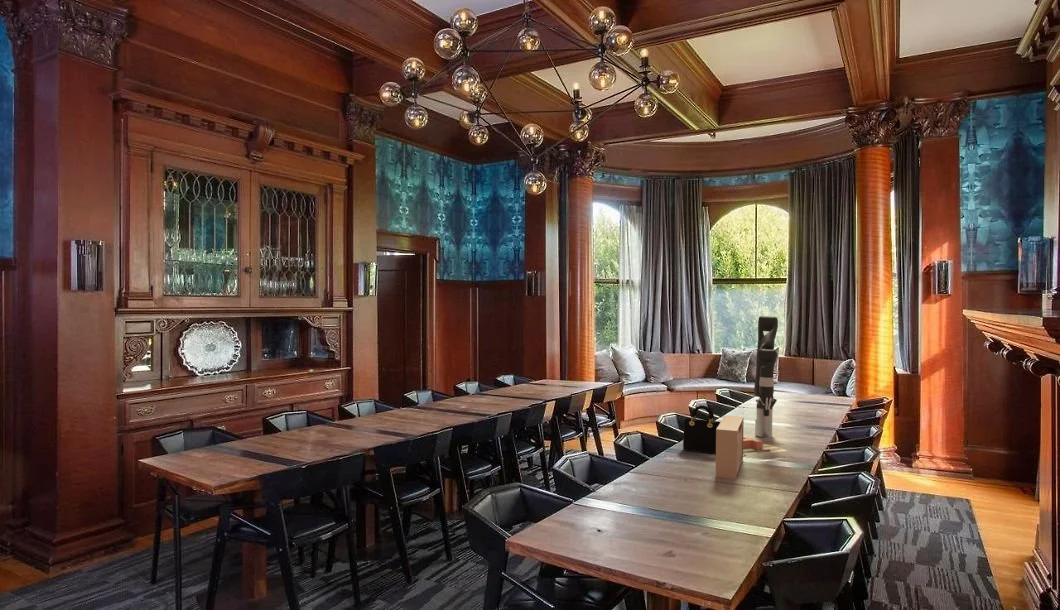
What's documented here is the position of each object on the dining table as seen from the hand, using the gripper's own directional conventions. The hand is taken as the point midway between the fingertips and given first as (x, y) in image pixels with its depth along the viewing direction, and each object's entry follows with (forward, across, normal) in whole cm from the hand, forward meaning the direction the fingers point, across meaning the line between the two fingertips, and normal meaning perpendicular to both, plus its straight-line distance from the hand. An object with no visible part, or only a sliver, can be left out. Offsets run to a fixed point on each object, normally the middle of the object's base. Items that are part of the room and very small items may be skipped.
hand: (766, 416), depth 356 cm
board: (+18, +8, -1) cm, 20 cm away
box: (+19, +44, +28) cm, 56 cm away
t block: (+17, +13, 0) cm, 21 cm away
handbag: (+19, +37, -7) cm, 42 cm away
